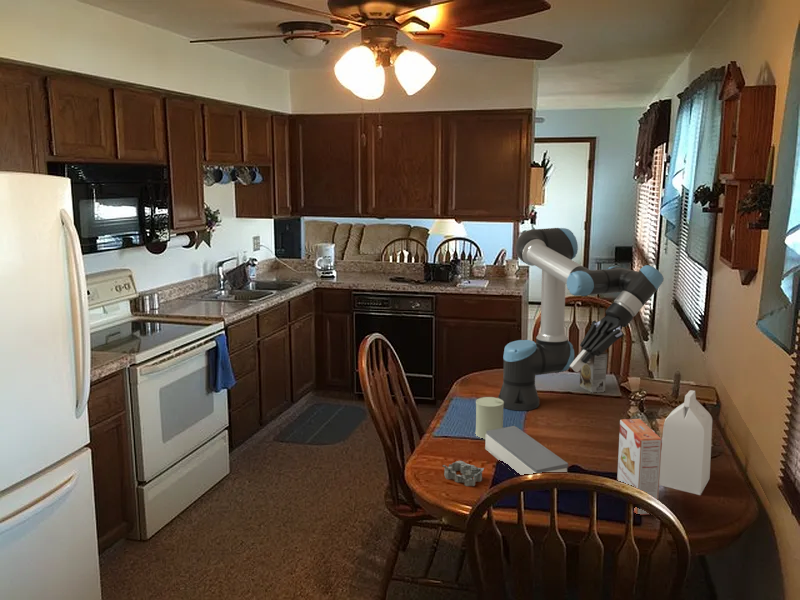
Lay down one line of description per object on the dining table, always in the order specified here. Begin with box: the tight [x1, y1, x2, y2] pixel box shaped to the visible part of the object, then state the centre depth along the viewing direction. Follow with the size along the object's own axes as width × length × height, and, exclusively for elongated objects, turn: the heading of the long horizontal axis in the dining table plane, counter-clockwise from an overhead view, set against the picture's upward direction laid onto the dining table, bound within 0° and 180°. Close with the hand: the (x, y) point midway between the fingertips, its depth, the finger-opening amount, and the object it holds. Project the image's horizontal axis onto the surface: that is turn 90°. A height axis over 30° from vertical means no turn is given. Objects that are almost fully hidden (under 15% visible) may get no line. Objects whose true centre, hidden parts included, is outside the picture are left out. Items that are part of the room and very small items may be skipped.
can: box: [475, 396, 504, 440], centre depth 227 cm, size 9×9×12 cm
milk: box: [659, 389, 713, 496], centre depth 192 cm, size 12×12×26 cm
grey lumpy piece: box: [442, 460, 485, 487], centre depth 197 cm, size 11×8×4 cm
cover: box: [486, 425, 569, 473], centre depth 204 cm, size 10×30×1 cm, turn 20°
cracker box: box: [616, 418, 662, 516], centre depth 180 cm, size 14×6×21 cm, turn 3°
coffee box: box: [579, 347, 608, 394], centre depth 272 cm, size 9×6×16 cm
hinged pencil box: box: [484, 434, 568, 475], centre depth 204 cm, size 10×30×5 cm, turn 20°
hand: (573, 369), depth 205 cm, fingers closed
